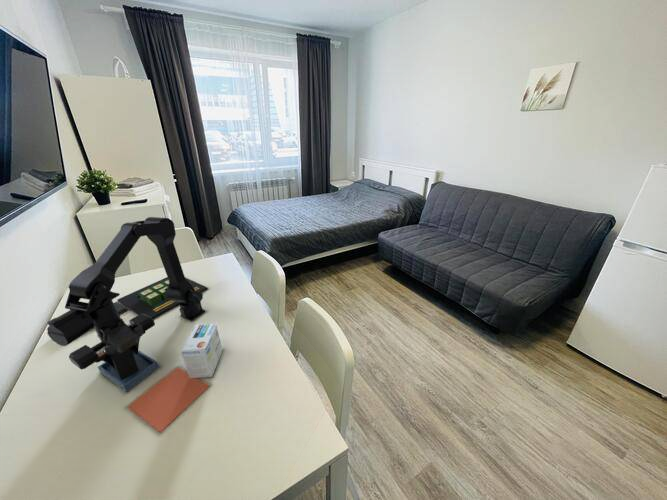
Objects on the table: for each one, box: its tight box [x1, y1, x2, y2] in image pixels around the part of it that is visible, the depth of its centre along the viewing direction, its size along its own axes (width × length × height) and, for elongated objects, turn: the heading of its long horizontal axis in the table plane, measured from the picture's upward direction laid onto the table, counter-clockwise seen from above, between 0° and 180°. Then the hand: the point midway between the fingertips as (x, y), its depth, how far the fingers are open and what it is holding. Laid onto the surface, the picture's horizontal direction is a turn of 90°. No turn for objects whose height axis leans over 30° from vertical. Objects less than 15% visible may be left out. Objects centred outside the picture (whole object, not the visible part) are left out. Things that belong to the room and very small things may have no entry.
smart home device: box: [91, 301, 128, 330], centre depth 100 cm, size 8×2×20 cm
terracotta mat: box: [127, 367, 210, 433], centre depth 72 cm, size 14×14×1 cm
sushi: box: [116, 276, 209, 320], centre depth 115 cm, size 25×25×4 cm
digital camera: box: [104, 345, 139, 380], centre depth 78 cm, size 10×5×7 cm, turn 52°
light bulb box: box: [180, 323, 223, 379], centre depth 80 cm, size 11×7×11 cm, turn 5°
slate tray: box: [97, 350, 160, 393], centre depth 80 cm, size 9×14×2 cm, turn 62°
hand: (126, 360), depth 79 cm, fingers closed on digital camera, 5 cm apart
